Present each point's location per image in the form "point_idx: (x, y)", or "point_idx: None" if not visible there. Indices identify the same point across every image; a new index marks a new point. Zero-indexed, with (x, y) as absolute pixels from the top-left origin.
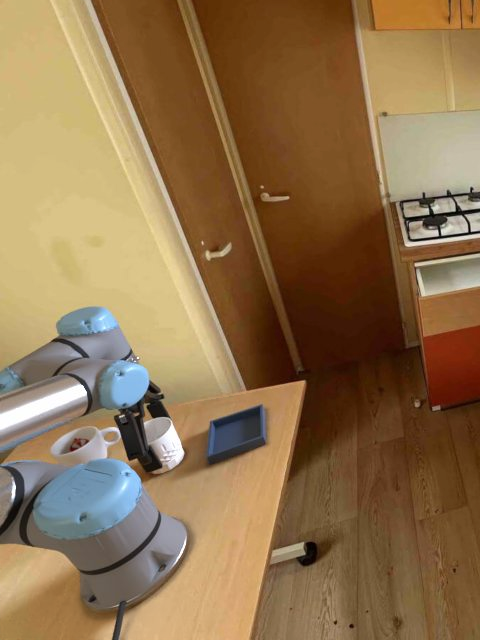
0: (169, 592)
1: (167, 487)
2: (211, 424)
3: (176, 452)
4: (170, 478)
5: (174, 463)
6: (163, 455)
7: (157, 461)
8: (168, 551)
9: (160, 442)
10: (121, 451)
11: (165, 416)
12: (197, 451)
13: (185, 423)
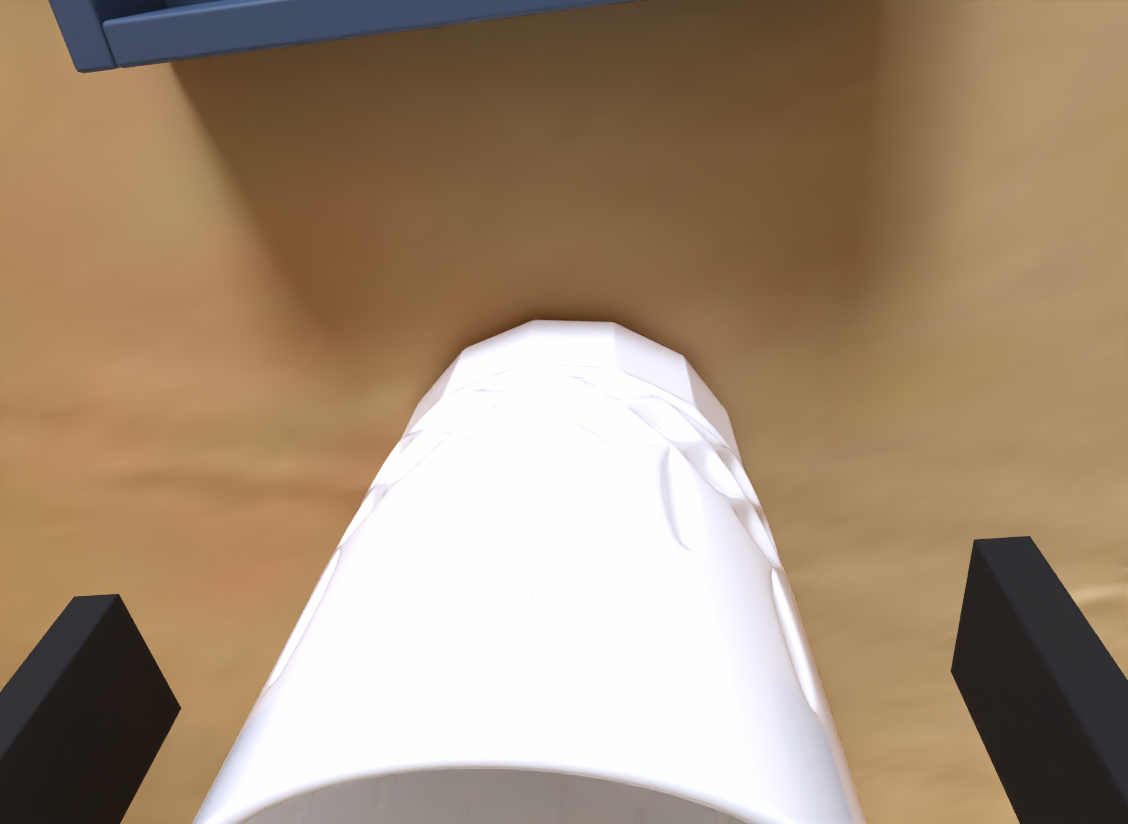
0: None
1: (966, 386)
2: (159, 27)
3: (656, 412)
4: (847, 384)
5: (699, 391)
6: (780, 567)
7: (1107, 666)
8: None
9: (833, 771)
10: None
11: (48, 733)
12: (548, 179)
13: (47, 400)
